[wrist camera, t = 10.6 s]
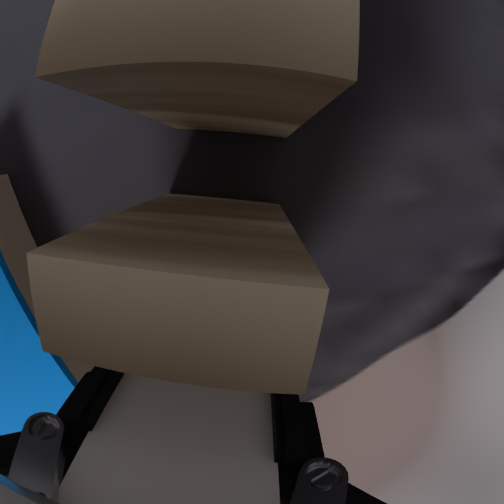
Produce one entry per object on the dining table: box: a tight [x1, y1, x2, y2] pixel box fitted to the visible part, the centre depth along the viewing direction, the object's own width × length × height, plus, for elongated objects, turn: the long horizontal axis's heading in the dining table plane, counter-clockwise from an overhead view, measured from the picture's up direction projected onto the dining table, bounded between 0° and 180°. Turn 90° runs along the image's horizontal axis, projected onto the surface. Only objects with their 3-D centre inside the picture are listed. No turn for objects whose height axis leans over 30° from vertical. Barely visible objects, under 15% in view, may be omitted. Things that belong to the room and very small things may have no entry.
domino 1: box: [35, 0, 360, 138], centre depth 8 cm, size 2×5×10 cm, turn 84°
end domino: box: [57, 373, 280, 504], centre depth 9 cm, size 2×5×10 cm, turn 84°
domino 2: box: [26, 194, 329, 395], centre depth 10 cm, size 2×5×10 cm, turn 84°
